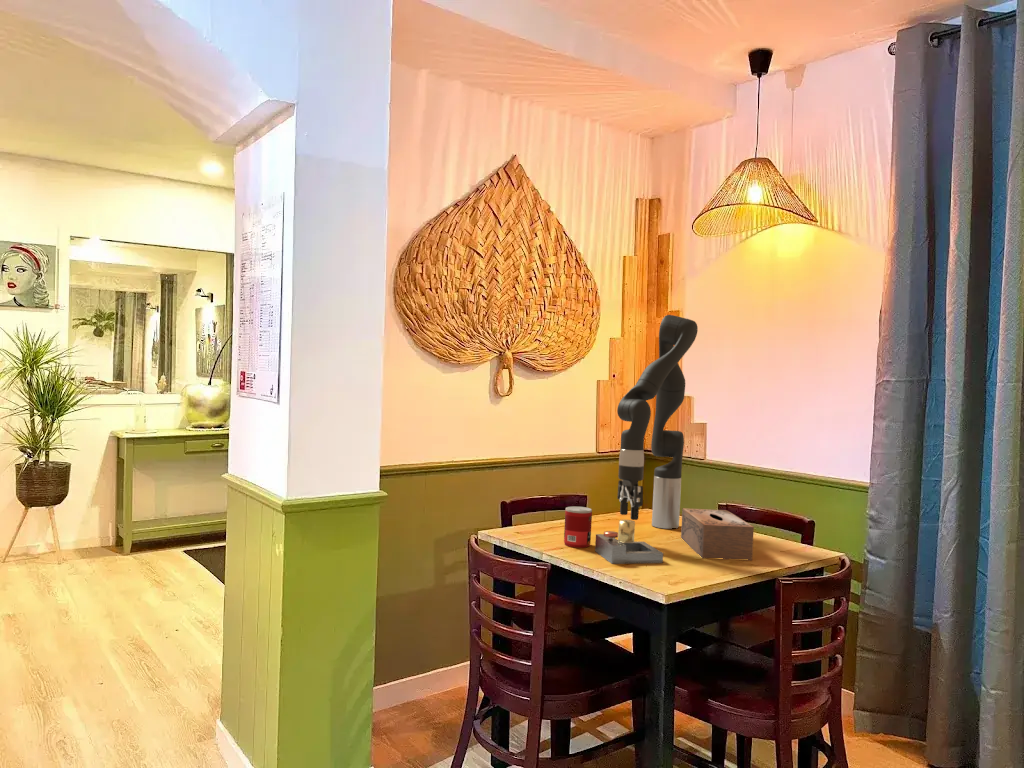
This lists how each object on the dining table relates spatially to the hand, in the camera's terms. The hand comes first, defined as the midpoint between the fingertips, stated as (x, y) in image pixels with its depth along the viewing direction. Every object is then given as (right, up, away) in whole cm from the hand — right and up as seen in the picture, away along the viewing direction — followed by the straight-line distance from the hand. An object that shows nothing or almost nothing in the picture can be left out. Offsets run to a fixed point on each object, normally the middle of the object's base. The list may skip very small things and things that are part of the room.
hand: (628, 517), depth 234 cm
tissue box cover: (+26, -10, 0) cm, 28 cm away
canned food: (-16, -8, -4) cm, 18 cm away
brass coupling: (-1, -8, +1) cm, 8 cm away
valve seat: (-3, -9, -16) cm, 18 cm away
